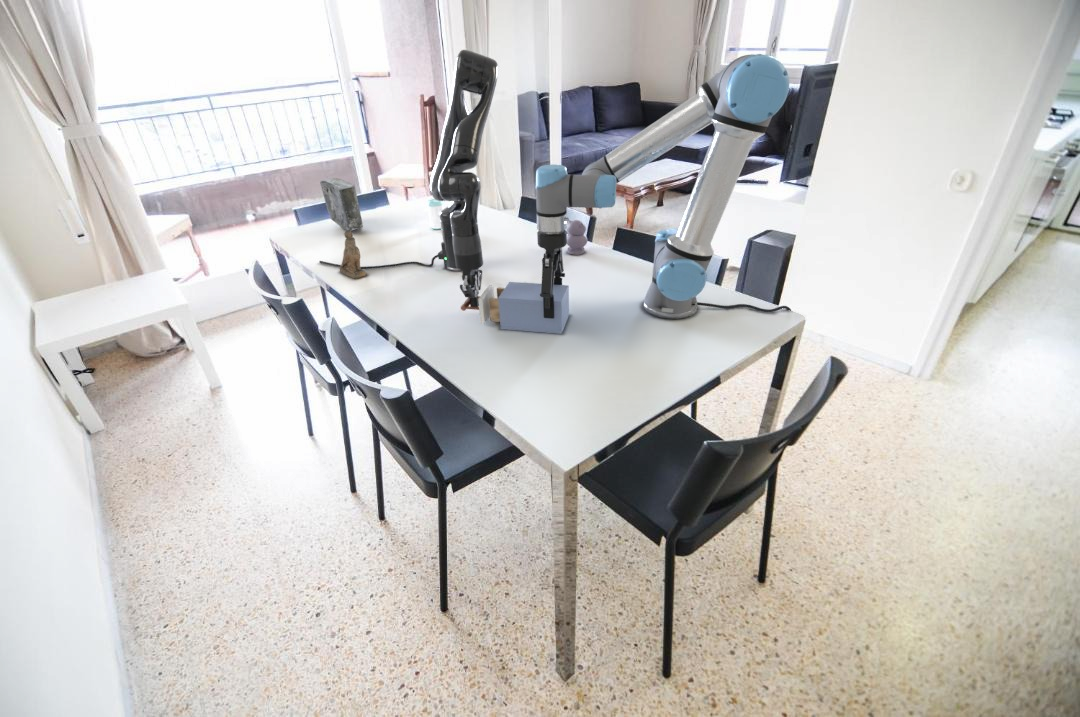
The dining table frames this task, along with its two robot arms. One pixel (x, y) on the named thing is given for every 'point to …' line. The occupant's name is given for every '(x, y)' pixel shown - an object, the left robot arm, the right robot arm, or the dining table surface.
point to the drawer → (486, 304)
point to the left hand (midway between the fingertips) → (475, 307)
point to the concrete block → (342, 203)
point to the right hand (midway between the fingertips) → (553, 308)
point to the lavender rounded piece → (576, 237)
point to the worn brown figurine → (351, 258)
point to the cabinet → (532, 308)
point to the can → (435, 213)
